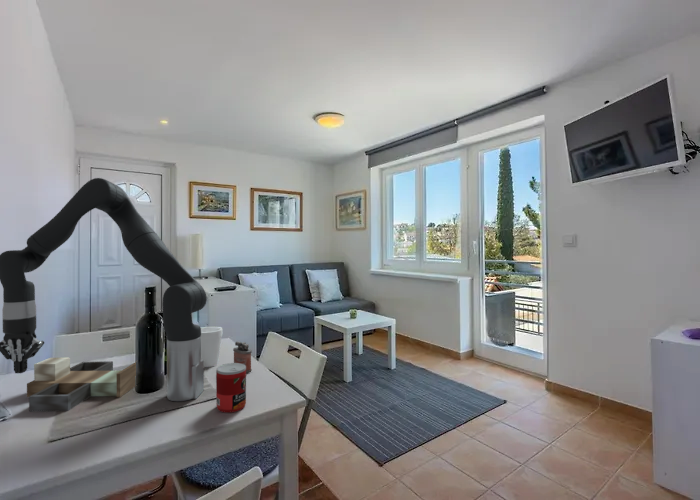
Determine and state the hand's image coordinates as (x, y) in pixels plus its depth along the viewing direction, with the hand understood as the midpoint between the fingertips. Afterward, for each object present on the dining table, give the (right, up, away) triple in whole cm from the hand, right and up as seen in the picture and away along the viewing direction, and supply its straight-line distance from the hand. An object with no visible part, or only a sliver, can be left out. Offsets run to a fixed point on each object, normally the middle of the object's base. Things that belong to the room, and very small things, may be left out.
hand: (20, 372), depth 108 cm
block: (+9, -2, +1) cm, 10 cm away
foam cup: (+48, -6, +24) cm, 54 cm away
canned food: (+67, -6, -10) cm, 68 cm away
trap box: (+19, -6, +1) cm, 20 cm away
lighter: (+62, -6, +18) cm, 65 cm away
